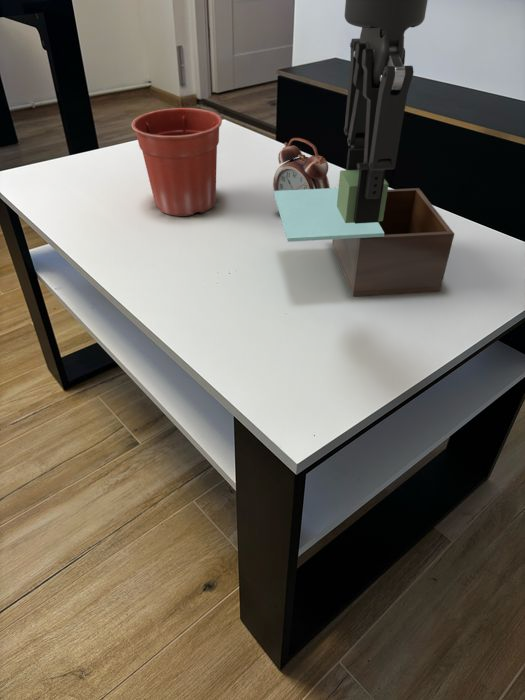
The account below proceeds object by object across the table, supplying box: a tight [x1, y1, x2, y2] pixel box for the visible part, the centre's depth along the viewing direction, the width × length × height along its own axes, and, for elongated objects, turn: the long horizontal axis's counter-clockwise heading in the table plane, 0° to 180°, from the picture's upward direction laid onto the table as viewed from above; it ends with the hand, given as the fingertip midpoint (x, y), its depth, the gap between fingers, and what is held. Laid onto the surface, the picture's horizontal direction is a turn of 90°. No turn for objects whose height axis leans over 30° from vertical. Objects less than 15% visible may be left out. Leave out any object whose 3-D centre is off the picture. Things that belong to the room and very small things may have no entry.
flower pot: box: [131, 107, 223, 217], centre depth 104 cm, size 16×16×16 cm
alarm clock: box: [272, 137, 331, 192], centre depth 99 cm, size 11×5×15 cm, turn 45°
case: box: [331, 187, 455, 297], centre depth 87 cm, size 16×14×10 cm
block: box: [337, 169, 389, 223], centre depth 63 cm, size 4×4×4 cm
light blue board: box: [273, 187, 384, 243], centre depth 82 cm, size 16×14×3 cm
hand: (359, 211), depth 64 cm, fingers closed on block, 4 cm apart
